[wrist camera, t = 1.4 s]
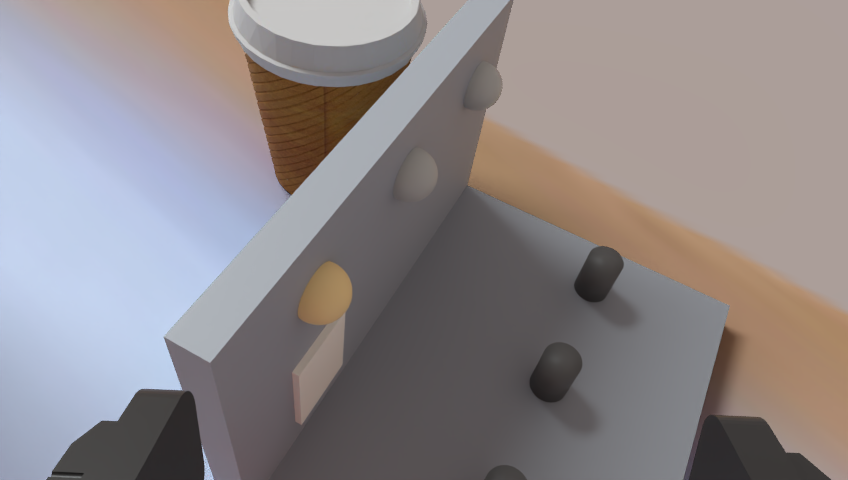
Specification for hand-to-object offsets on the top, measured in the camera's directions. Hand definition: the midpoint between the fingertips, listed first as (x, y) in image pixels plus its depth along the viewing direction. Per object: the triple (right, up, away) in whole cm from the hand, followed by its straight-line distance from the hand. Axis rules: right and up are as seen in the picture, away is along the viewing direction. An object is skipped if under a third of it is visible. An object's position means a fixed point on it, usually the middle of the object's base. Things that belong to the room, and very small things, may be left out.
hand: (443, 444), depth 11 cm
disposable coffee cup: (-6, +8, +31) cm, 32 cm away
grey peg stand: (+4, -5, +23) cm, 23 cm away
